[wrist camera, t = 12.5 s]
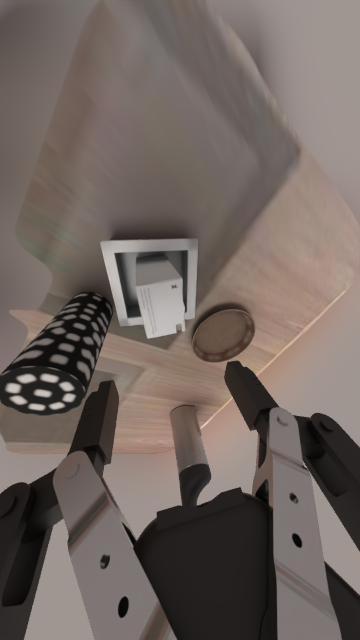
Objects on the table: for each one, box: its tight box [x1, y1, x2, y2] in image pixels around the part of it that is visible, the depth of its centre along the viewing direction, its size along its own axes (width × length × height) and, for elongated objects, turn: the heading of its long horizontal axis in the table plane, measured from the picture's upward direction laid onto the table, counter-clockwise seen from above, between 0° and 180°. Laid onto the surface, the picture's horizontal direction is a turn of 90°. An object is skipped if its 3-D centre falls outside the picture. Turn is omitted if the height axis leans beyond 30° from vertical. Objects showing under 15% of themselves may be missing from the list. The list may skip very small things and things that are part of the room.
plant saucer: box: [192, 309, 255, 363], centre depth 44 cm, size 18×18×3 cm
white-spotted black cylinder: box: [0, 292, 113, 415], centre depth 26 cm, size 8×8×20 cm
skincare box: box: [135, 255, 185, 339], centre depth 27 cm, size 8×6×15 cm
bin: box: [100, 238, 198, 327], centre depth 30 cm, size 15×15×6 cm
